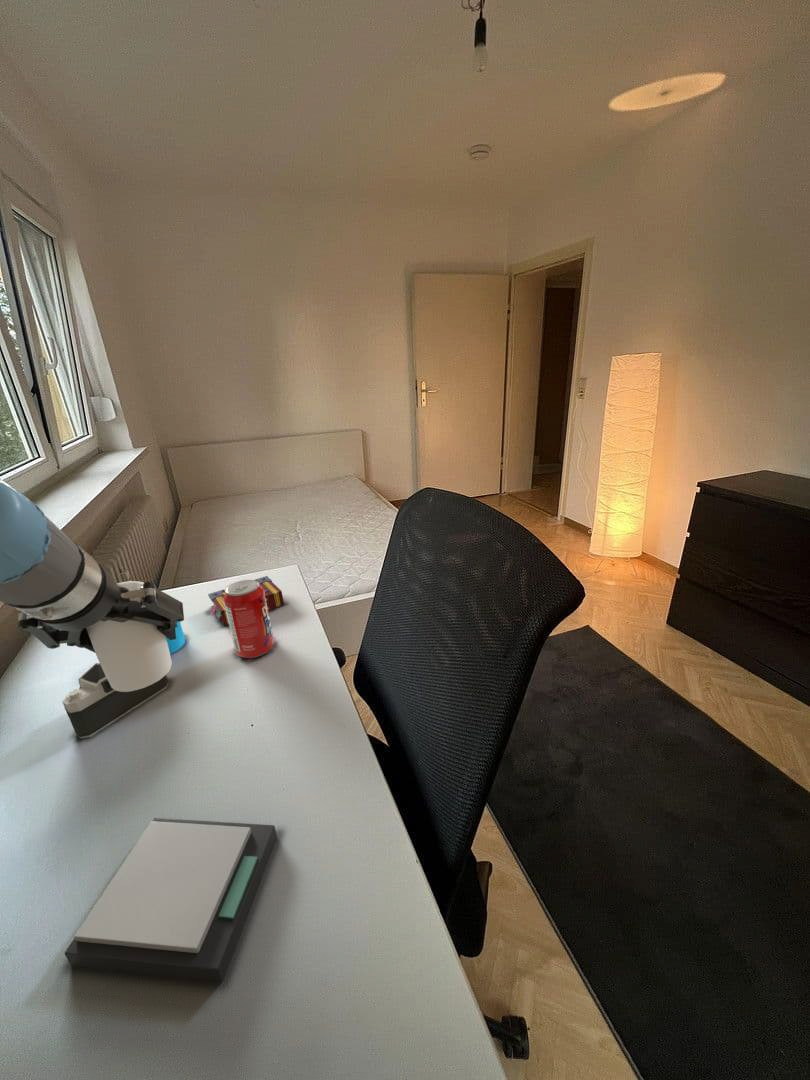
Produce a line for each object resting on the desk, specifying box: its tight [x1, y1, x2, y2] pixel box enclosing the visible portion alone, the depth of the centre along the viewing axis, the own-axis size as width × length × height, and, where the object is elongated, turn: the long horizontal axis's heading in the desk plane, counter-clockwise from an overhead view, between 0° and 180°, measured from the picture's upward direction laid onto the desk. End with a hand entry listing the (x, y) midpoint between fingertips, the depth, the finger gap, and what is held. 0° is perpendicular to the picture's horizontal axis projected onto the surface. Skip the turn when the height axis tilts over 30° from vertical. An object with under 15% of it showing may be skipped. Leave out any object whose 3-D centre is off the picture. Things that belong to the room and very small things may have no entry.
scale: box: [64, 817, 278, 983], centre depth 49 cm, size 16×14×3 cm
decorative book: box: [207, 575, 285, 627], centre depth 109 cm, size 11×16×5 cm
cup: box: [86, 580, 173, 692], centre depth 62 cm, size 8×8×14 cm
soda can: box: [223, 579, 275, 659], centre depth 91 cm, size 8×8×15 cm
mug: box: [166, 622, 186, 655], centre depth 93 cm, size 12×8×8 cm
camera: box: [61, 662, 170, 739], centre depth 78 cm, size 16×9×10 cm, turn 149°
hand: (138, 638), depth 65 cm, fingers closed on cup, 8 cm apart
